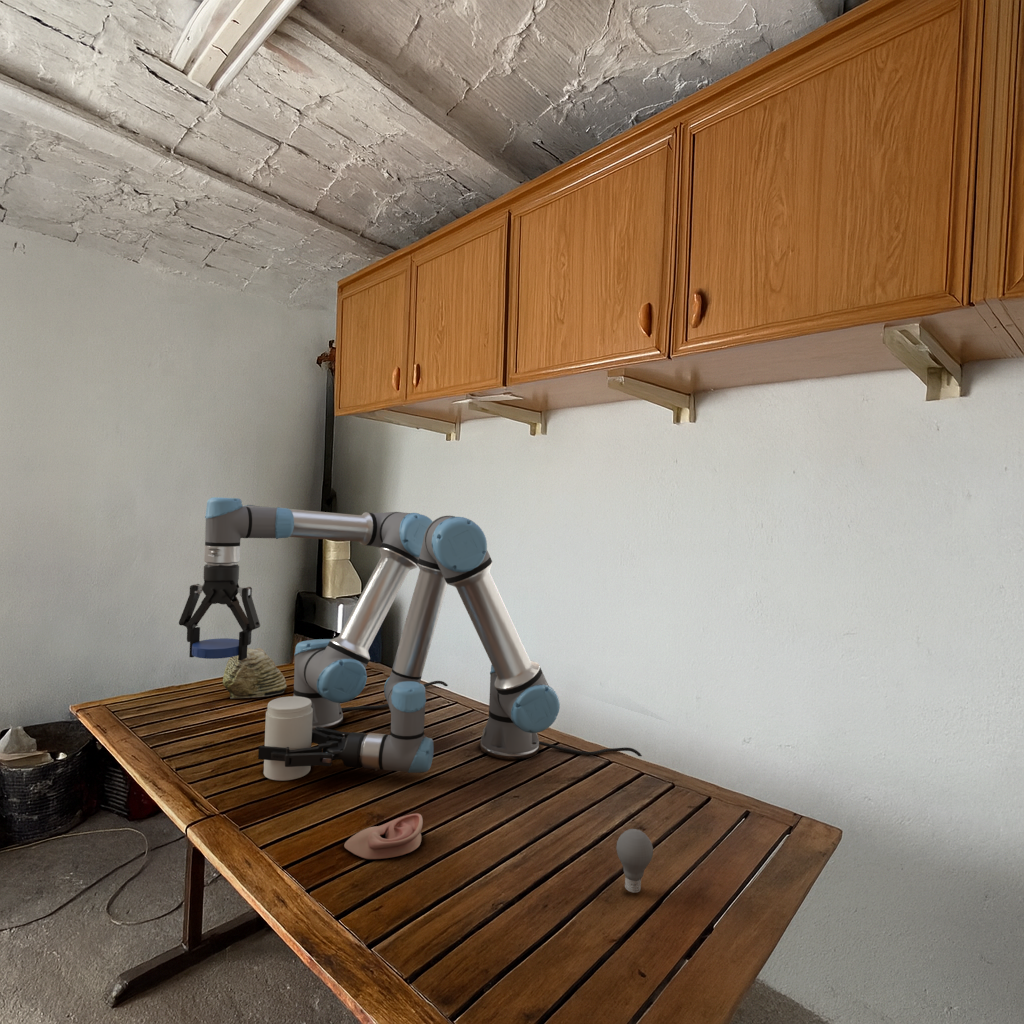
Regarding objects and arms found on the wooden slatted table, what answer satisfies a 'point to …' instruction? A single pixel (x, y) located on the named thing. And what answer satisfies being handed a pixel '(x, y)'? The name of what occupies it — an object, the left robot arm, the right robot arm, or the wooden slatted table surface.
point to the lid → (216, 648)
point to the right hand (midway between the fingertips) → (270, 743)
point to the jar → (288, 733)
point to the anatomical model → (387, 838)
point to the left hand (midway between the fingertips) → (218, 657)
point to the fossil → (253, 676)
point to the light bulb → (634, 857)
